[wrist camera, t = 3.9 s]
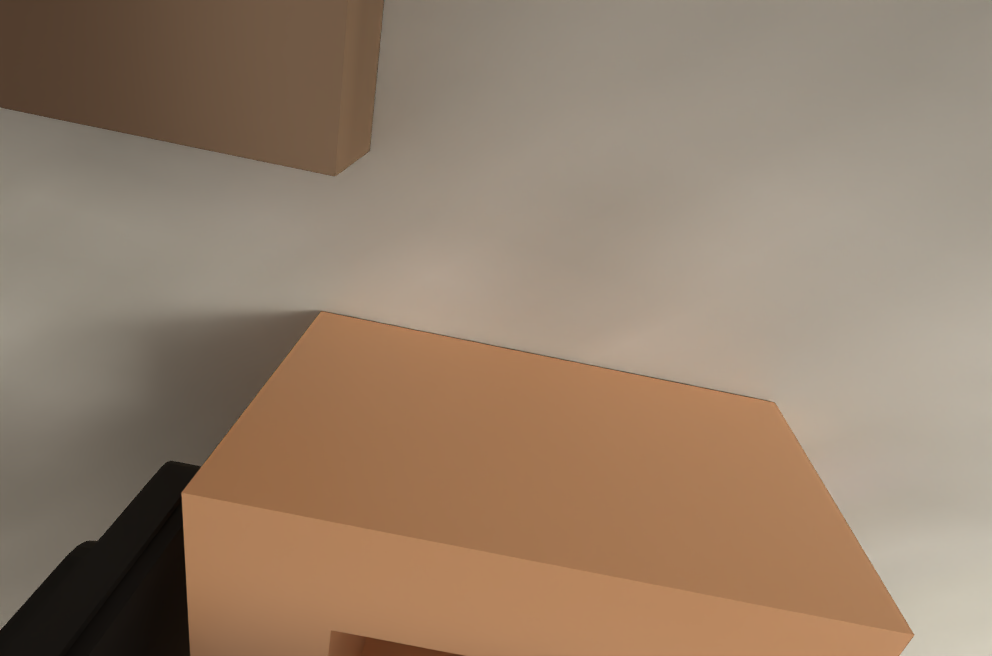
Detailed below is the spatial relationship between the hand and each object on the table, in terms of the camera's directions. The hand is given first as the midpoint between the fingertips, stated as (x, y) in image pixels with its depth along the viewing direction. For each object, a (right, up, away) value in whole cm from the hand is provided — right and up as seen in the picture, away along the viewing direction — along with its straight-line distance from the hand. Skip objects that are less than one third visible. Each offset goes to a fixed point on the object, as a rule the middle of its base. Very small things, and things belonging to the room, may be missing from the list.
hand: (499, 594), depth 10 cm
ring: (0, +1, +1) cm, 1 cm away
